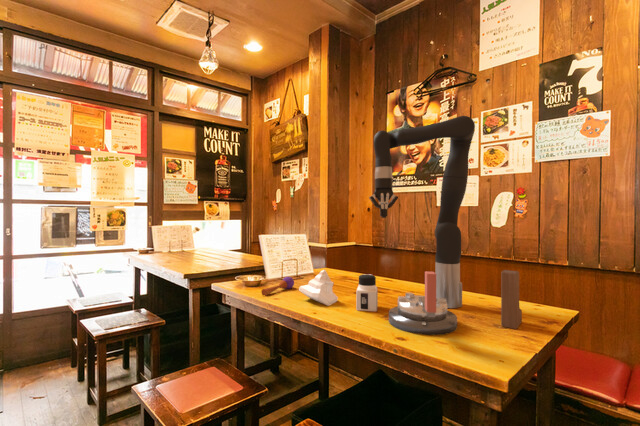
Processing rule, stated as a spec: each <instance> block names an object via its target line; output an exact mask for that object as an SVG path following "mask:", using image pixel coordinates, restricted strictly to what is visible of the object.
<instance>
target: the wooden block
mask: <svg viewBox="0 0 640 426" xmlns="http://www.w3.org/2000/svg"><path fill="white" fill-rule="evenodd" d="M500 273H501V274H500V275H501V276H500V277H501V278H500V280H501V281H500V282H501V285H500V288H501V290H500V292H501V293H500V294H501V295H500V298H501V299H500V300H501V301H500V302H501V303H500V307H501V308H500V315H501V316H500V318H501V319H500V323H501V327H502V328H507V329H514V330H517V329H518V328H519V327H520V325H521V324H522V319H523V318H522V316H523V314H522V313H523V311H522V309H521V307H520V272H519V271H518V270H509V269H504V270H502V271H501V272H500Z"/></svg>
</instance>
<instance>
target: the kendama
mask: <svg viewBox="0 0 640 426" xmlns="http://www.w3.org/2000/svg"><path fill="white" fill-rule="evenodd" d="M294 285H295V280H294V279H293V277H292V276H291V277H290V276H286V277H283V278H282V280H281V281H280V282H279V284H278V285H275V286H271V287H270V286H269V287H266V288H262V289H261V295H262V296H263V295H265V297H266V296H268V295H270V294H272V293H273V292H275V291H277V290H278V289H283V290H290V289H292V288H293V287H294Z"/></svg>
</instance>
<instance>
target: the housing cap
mask: <svg viewBox="0 0 640 426" xmlns="http://www.w3.org/2000/svg"><path fill="white" fill-rule="evenodd" d="M388 323H389V324H390V325H391V326H392V327H393V328H395V329H398V330H400V331H403V332H406V333H411V334H416V335H425V336H437V335H438V336H439V335H447V334H452V333H454V332H455V331H456V330H457V329H458V317H457V314H455V313H454V312H452V311H450V310H448V309H447V317H446V318H445V319H442V320H437V321H421V320H414V319H409V318H406V317H403V316H401V315H400V314H399V313H398V305H397V306H393V307H392V308H390V309H389V310H388Z"/></svg>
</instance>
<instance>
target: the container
mask: <svg viewBox="0 0 640 426" xmlns="http://www.w3.org/2000/svg"><path fill="white" fill-rule="evenodd" d="M376 279H377V277H376V276H375V275H373V274H370V273H368V274H365V273H364V274H360V275H359V276H358V286H357V288H356V292H355V293H356V294H355V295H356V297H355V298H356V302H355V304H356V310H357V311H361V312H362V311H363V312H377V311H378V306H379V305H378V286H376V285H377V283H376Z"/></svg>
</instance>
